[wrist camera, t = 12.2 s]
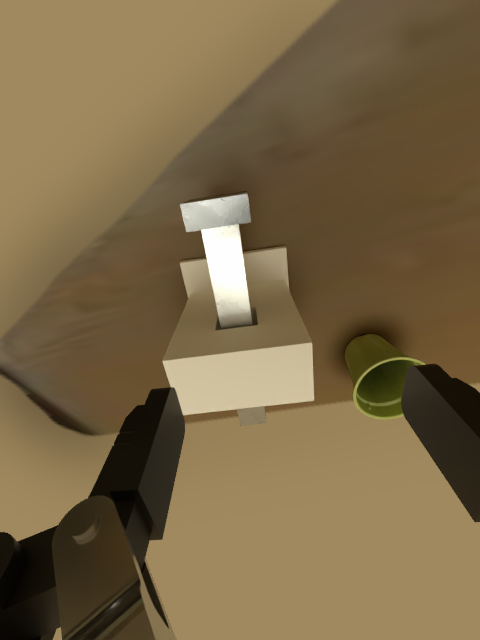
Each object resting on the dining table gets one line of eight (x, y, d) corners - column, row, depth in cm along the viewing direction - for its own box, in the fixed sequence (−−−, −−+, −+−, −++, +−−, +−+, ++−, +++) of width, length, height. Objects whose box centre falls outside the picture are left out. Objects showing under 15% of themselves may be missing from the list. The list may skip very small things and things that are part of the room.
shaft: (190, 199, 25) (180, 204, 21) (246, 190, 25) (247, 193, 20) (232, 401, 36) (231, 433, 31) (271, 397, 35) (276, 428, 31)
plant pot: (320, 364, 42) (338, 406, 35) (355, 313, 38) (384, 347, 31) (372, 383, 44) (400, 427, 36) (410, 336, 40) (451, 373, 32)
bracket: (181, 261, 35) (141, 317, 21) (284, 245, 34) (317, 294, 20) (203, 353, 41) (184, 446, 27) (291, 342, 41) (320, 432, 26)
